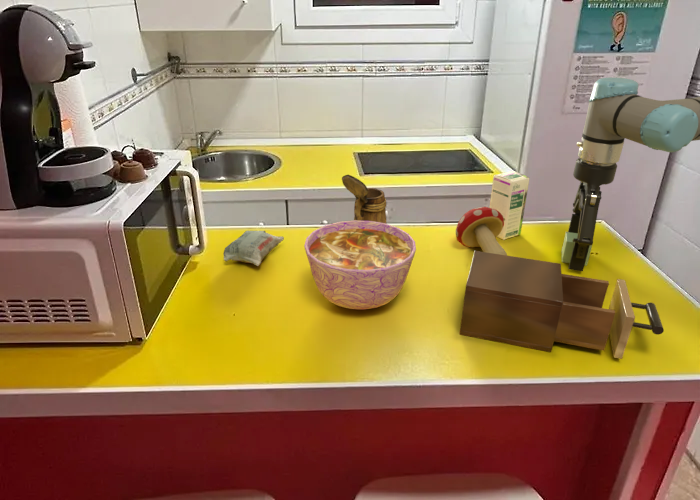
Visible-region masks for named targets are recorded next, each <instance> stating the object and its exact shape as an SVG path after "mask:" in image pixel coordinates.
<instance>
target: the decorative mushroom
mask: <svg viewBox="0 0 700 500" xmlns="http://www.w3.org/2000/svg"><path fill="white" fill-rule="evenodd" d="M503 226H504V218H503V215H502V214H501V213H500V212H499V211H497V210H496V209H492V208H490V207H488V206H479V207H478V206H477V207H475V208H472V209H469V210H468V211H466V212H465V213H464V214H463V215H462V216H461V218H459V220H458V222H457V225H456V227H455V237H456V241H457V242H458V243H460V244H461V245H462V246H463V247H468V248H481V251H482V252H487V253H493V254H500V255H507V256H508V253H507V251H506V250H505V248H504V247H502V245H501V244H500V243H499V242H498V240H497V239H496V238H498V237H497V236H498V235H499V234H500V232H501V231H502V228H503Z"/></svg>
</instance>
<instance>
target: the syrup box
mask: <svg viewBox="0 0 700 500" xmlns="http://www.w3.org/2000/svg"><path fill="white" fill-rule="evenodd" d="M491 184H492V185H491V193H490V200H489V208H492V209H496V210H497V211H499V212H500V213H501V214H502V215H503V218H504V226H503V228H502V231H501V232H500V234H499V235H498V236H497V237H496V238H498V239H500V240H503V241H505V240H507V239H510V238H513V237H516V236H520V235H521V233H522V227H523V221H524V215H525V210H526V203H527V197H528V190H529V185H530V177H529V176H527V175H525V174H523V173H520V172H517V171H514V170H509V171H506V172H502V173H499V174H494V175H493V177H492V183H491Z"/></svg>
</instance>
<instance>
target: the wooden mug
mask: <svg viewBox="0 0 700 500" xmlns="http://www.w3.org/2000/svg"><path fill="white" fill-rule="evenodd" d="M341 182H342V185H343V186H344V188H345V189H346V190H347V191H349V193H351V194H352V195H353V196H354V197H355V200H354V207H353V215H354V217H353V220H357V221H374V222H380V223H385V224H388V223H387V211H386V207H387V199H386V197H385V192H384V191H383V190H381V189H379V188H376V187H375V188H374V187H367V185H366V184H365V183H364V182H363V181H361V180H360V179H359V178H357V177H355V176H353V175H350V174H345V175H343V176H342V177H341Z"/></svg>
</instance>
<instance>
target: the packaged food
mask: <svg viewBox="0 0 700 500" xmlns="http://www.w3.org/2000/svg"><path fill="white" fill-rule="evenodd" d="M284 238H285V237H284V236H281V235H279V236H276V235H273V234H271V233H268V232H266V230H245V231H244V232H243V233H242V234H241V235H240V236H238V237H237V238H236V239H235V240H233V241H231V243H229V244H228V245H227V246H225V247H224V250H223V261H225V262H228V261H230V260H231V261H236V262H241V263H246V264H253V265H254V266H257V267H259V266H260V265H261V263H262V261H263V260H264V258H265V257H266V256H267V255H269V254H270V253H271V252H272V251H273V250H274V249H275V248H277V247H278V246H279V245H280V243H282V242H283V241H284V240H285V239H284Z"/></svg>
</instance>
